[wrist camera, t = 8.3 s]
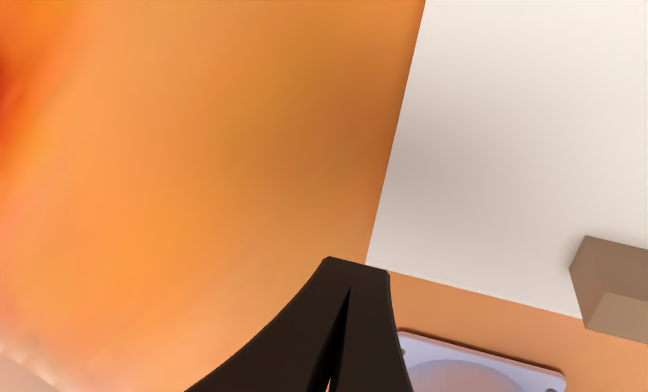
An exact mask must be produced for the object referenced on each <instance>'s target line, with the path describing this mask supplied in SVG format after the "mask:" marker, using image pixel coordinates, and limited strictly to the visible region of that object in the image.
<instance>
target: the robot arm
mask: <svg viewBox="0 0 648 392" xmlns="http://www.w3.org/2000/svg"><path fill="white" fill-rule="evenodd" d="M401 348H402V349H404V350H401ZM330 378H331V379H330ZM329 380H330V386H329V392H564V390H565V388H566V385H567V384H566V379H565V377H564V375H562V374H561V373H559V372H556V371H552V370H548V369H544V368H540V367H537V366H533V365H529V364H525V363H521V362H518V361H514V360H510V359H506V358H503V357H499V356H495V355H491V354H487V353H484V352H480V351H476V350H472V349H468V348H465V347H461V346H457V345H453V344H450V343H446V342H442V341H438V340H434V339H431V338H427V337H423V336H419V335H415V334H412V333H408V332H403V331H400V332H397V330H396V325H395V320H394V314H393V308H392V301H391V292H390V275H389V274H388V272H387V271H386V270H383V269H379V268H375V267H371V266H367V265H363V264H359V263H355V262H351V261H347V260H343V259H339V258H335V257H331V256H329V257H327V258H325V259H323V260H322V262H321V264H320V265H319V267H318V268H317V269H316V271H315V272H314V274H313V275H312V276H311V278H310V279H309V280H308V281H307V283H306V284H305V285H304V286H303V287H302V288H301V290H300V291H299V292H298V293H297V294H296V295H295V297H294V298H293V299H292V300H291V301H290V302H289V303H288V304H287V305H286V306H285V307H284V308H283V309H282V310H281V311H280V313H279V314H278V315H277V316H276V317H275V318H274V319H273V320H272V321H271V322H269V323H268V324H267V325H266V326H265V327H264V328H263V329H262V330H261V331H260V332H259V333H258V334H257V335H255V336H254V337H253V338H252V339H251V340H250V341H249V342H248V343H247V344H246V345H244V346H243V347H242V348H241V349H240V350H239V351H237V352H236V353H235V354H234V355H233V356H231V357H230V358H229V359H228V360H226V361H225V362H224V363H223V364H221V365H220V366H219V367H217V368H216V369H215V370H214V371H212V372H211V373H210V374H208V375H207V376H205V377H204V378H203V379H201V380H200V381H198V382H197V383H195V384H194V385H193V386H191V387H190V388H188V389H187V390H186V391H184V392H325V391H326V389H327V386H328V383H329ZM547 389H552V390H547Z"/></svg>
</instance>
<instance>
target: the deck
mask: <svg viewBox="0 0 648 392" xmlns="http://www.w3.org/2000/svg"><path fill="white" fill-rule="evenodd" d="M365 265H369V266H373V267H377V268H381V269H385V270H389V271H393V272H397V273H401V274H405V275H409V276H413V277H417V278H421V279H425V280H429V281H433V282H437V283H441V284H445V285H449V286H453V287H457V288H461V289H465V290H469V291H473V292H476V293H480V294H484V295H488V296H492V297H496V298H500V299H504V300H508V301H512V302H516V303H520V304H524V305H528V306H532V307H536V308H540V309H544V310H548V311H552V312H556V313H560V314H564V315H568V316H572V317H576V318H580V319H583V322H584V326H585V329H589V330H593V331H597V332H601V333H605V334H609V335H613V336H617V337H620V338H624V339H628V340H632V341H636V342H640V343H644V344H648V0H426V3H425V7H424V12H423V16H422V20H421V24H420V29H419V33H418V37H417V42H416V46H415V50H414V55H413V59H412V63H411V68H410V72H409V76H408V81H407V85H406V89H405V93H404V98H403V102H402V106H401V111H400V115H399V119H398V124H397V128H396V132H395V137H394V141H393V145H392V150H391V154H390V158H389V163H388V167H387V171H386V175H385V180H384V184H383V188H382V193H381V197H380V201H379V206H378V210H377V214H376V219H375V223H374V227H373V232H372V236H371V240H370V244H369V249H368V253H367V257H366V262H365Z"/></svg>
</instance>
